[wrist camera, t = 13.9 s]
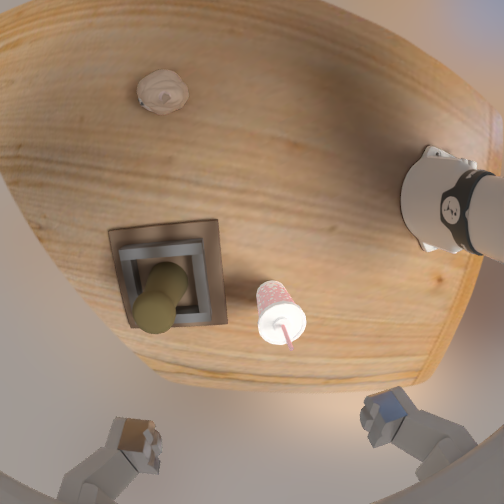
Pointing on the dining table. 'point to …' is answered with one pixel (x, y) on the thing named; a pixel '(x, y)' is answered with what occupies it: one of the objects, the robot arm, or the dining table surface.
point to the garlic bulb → (162, 92)
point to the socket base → (183, 254)
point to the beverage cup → (278, 314)
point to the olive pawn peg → (160, 298)
